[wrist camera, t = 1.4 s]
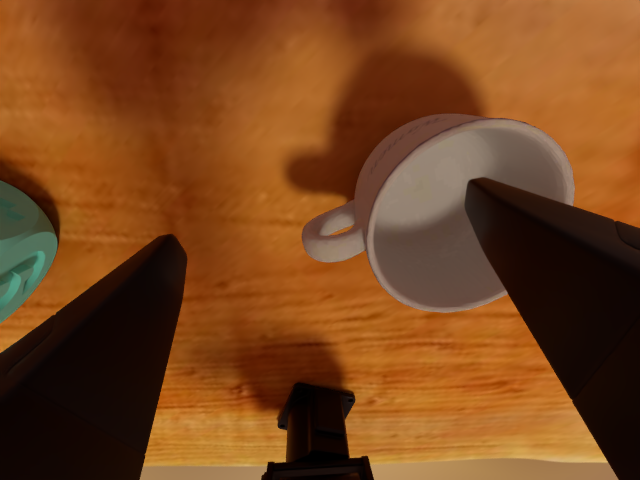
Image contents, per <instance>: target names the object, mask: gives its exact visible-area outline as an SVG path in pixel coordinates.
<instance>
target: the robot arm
mask: <svg viewBox="0 0 640 480" xmlns="http://www.w3.org/2000/svg"><path fill="white" fill-rule="evenodd" d="M464 207H465V211H466V214H467V216H468V218H469V221H470V223H471V225H472V228H473V230H474V232H475V235H476V237H477V239H478V241H479V244H480V246H481V248H482V250H483V252H484V254H485V256H486V258H487V259H488V261H489V263H490V264H491V266H492V268H493V269H494V271H495V273H496V274H497V276H498V278H499V279H500V281H501V283H502V284H503V286H504V288H505V289H506V291H507V293H508V295H509V296H510V298H511V300H512V301H513V303H514V305H515V306H516V308H517V310H518V311H519V313H520V315H521V316H522V318H523V320H524V321H525V323H526V325H527V326H528V328H529V330H530V331H531V333H532V335H533V336H534V338H535V340H536V341H537V343H538V345H539V346H540V348H541V350H542V352H543V353H544V355H545V357H546V358H547V360H548V362H549V363H550V365H551V367H552V368H553V370H554V372H555V373H556V375H557V377H558V378H559V380H560V382H561V383H562V385H563V387H564V388H565V390H566V392H567V393H568V395H569V397H570V398H571V399H572V400H573V401H572V402H573V404H574V406H575V407H576V409H577V411H578V412H579V414H580V416H581V417H582V419H583V421H584V422H585V424H586V426H587V427H588V429H589V431H590V432H591V434H592V436H593V437H594V439H595V441H596V442H597V444H598V446H599V448H600V449H601V451H602V453H603V454H604V456H605V458H606V459H607V461H608V463H609V464H610V466H611V468H612V469H613V471H614V472H615V474H616V476H617V477H618V479H619V480H640V228H637V227H634V226H631V225H628V224H625V223H622V222H619V221H615V222H614V220H613V219H610V218H607V217H604V216H601V215H598V214H595V213H592V212H589V211H586V210H583V209H580V208H577V207H574V206H571V205H568V204H565V203H562V202H558V201H555V200H552V199H549V198H546V197H543V196H540V195H537V194H534V193H531V192H528V191H525V190H522V189H519V188H516V187H513V186H510V185H507V184H504V183H501V182H498V181H495V180H492V179H489V178H486V177H480V178H474V179H470V180H469V181H468V183H467V188H466V195H465V202H464ZM186 267H187V255H186V252H185V251H184V249H183V247H182V246H181V244H180V243H179V241H178V239H177V238H176V237H175V236H174V235H173V234H167V235H162V236H159V237H157V238H156V239H154V240H153V241H152V242H150V243H149V244H148V245H146V246H145V247H144V248H142V249H141V250H140V251H138V252H137V253H136V254H134V255H133V256H132V257H130V258H129V259H128V260H126V261H125V262H124V263H122V264H121V265H120V266H118V267H117V268H116V269H114V270H113V271H112V272H110V273H109V274H108V275H106V276H105V277H104V278H102V279H101V280H100V281H98V282H97V283H96V284H94V285H93V286H92V287H90V288H89V289H87V290H86V291H85V292H83V293H82V294H81V295H79V296H78V297H77V298H75V299H74V300H73V301H71V302H70V303H69V304H67V305H66V306H65V307H63V308H62V309H61V310H59V311H58V312H57V313H56V315H53V316H51V317H50V318H49V319H47V320H46V321H45V322H43V323H42V324H41V325H39V326H38V327H36V328H35V329H34V330H32V331H31V332H30V333H28V334H27V335H25V336H24V337H23V338H21V339H20V340H19V341H17V342H16V343H14V344H13V345H11V346H10V347H9V348H7V349H6V350H4V351H3V352H1V353H0V480H139V479H140V475H141V471H142V467H143V463H144V459H145V455H144V454H145V453H146V450H147V446H148V442H149V437H150V433H151V429H152V425H153V421H154V417H155V413H156V408H157V404H158V400H159V396H160V392H161V388H162V384H163V379H164V375H165V371H166V367H167V363H168V359H169V355H170V350H171V346H172V342H173V338H174V334H175V330H176V326H177V321H178V317H179V313H180V309H181V304H182V299H183V292H184V284H185V275H186ZM298 388H299V389H298ZM354 403H355V396H354V395H353V394H350V393H345V392H340V391H335V390H331V389H326V388H321V387H316V386H311V385H306V384H301V383H297V384H295V385H294V386H293V388H292V391H291V393H290V395H289V398H288V400H287V402H286V404H285V407H284V409H283V411H282V413H281V416H280V418H279V420H278V428H280V429H284V430H287V450H286V462H283V463H274V462H268V465H267V472H265V473H264V475H262V478H261V480H374V478H373V474H372V471H371V467H370V463H369V459H368V456H362V457H361V458H350V457H349V449H348V441H347V434H346V426H345V418H346V417H347V415H348V413H349V411H350V410H351V408H352V406H353V404H354Z"/></svg>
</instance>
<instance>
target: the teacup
mask: <svg viewBox="0 0 640 480" xmlns="http://www.w3.org/2000/svg"><path fill="white" fill-rule="evenodd" d="M480 177H486V178H489V179H492V180H495V181H498V182H501V183H504V184H507V185H510V186H513V187H516V188H519V189H522V190H525V191H528V192H531V193H534V194H537V195H540V196H543V197H546V198H549V199H552V200H555V201H558V202H562V203H565V204H568V205H571V206H573V202H574V190H575V186H574V179H573V171H572V168H571V165H570V163H569V160H568V159H567V157H566V155H565V152H564V151H563V150H562V149H561V147H560V146H559V145H558V144H557V143H556V142H555V141H554V140H553V138H551V137H550V136H549V135H548V134H546V133H545V132H543V131H542V130H540V129H538V128H536V127H535V126H532V125H529V124H527V123H526V122H521V121H517V120H512V119H505V118H486V117H481V116H474V115H466V114H436V115H430V116H426V117H422V118H419V119H416V120H413V121H411V122H409V123H407V124H405V125H403V126H401V127H399V128H398V129H396V130H395V131H393V132H392V133H390V134H389V135H388V136H387V137H385V138H384V139H383V140H382V141H381V142H380V143H379V144H378V145H377V146H376V148H375V149H374V150H373V151H372V153H371V154H370V155H369V157H368V158H367V160H366V161H365V163H364V165H363V167H362V169H361V172H360V174H359V177H358V181H357V184H356V189H355V198H354V200H351V201H349V202H347V203H346V204H345V205H343V206H341V207H338V208H335V209H333V210H330V211H328V212H326V213H324V214H321V215H319V216H317V217H315V218H314V219H312V220H311V221H309V222H308V223H307V224H306V225H305V226H304V228H303V232H302V241H303V245H304V248H305V250H306V252H307V253H308V255H310V256H311V257H312V258H313V259H316V260H318V261H322V262H338V261H344V260H347V259H349V258H351V257H353V256H355V255H357V254H359V253H361V252H362V251H366V252H367V256H368V260H369V263H370V265H371V268H372V271H373V273H374V275H375V277H376V278H377V280H378V282H379V283H380V284H381V286H382V287H383V288H384V289H385V290H386V291H387V292H388V293H389V294H390V295H391V296H393V297H394V298H395V299H397V300H398V301H400V302H402V303H404V304H406V305H408V306H410V307H413V308H416V309H420V310H425V311H433V312H457V311H463V310H468V309H473V308H476V307H479V306H482V305H485V304H487V303H490V302H492V301H494V300H496V299H499V298H501V297H503V296H504V295H506V294H508V293H507V291H506V289H505V288H504V286H503V284H502V283H501V281H500V279H499V278H498V276H497V274H496V273H495V271H494V269H493V268H492V266H491V264H490V263H489V261H488V259H487V258H486V256H485V254H484V252H483V250H482V248H481V246H480V244H479V241H478V239H477V237H476V235H475V232H474V230H473V228H472V225H471V223H470V221H469V218H468V216H467V214H466V211H465V207H464V202H465V195H466V188H467V183H468V181H469V180H470V179H474V178H480ZM351 225H354V226H353V228H351V229H350V230H348V231H347V232H344V233H341V234H338V235H331V236H328V235H330V234H332V233H334V232H336V231H338V230H341V229H343V228H346V227H349V226H351Z"/></svg>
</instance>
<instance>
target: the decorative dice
mask: <svg viewBox="0 0 640 480" xmlns="http://www.w3.org/2000/svg"><path fill="white" fill-rule="evenodd" d="M57 246H58V242H57V237H56V234H55V231H54V228H53V226H52V224H51V222H50V221H49V219H48V217H47V216H46V214H45V213H44V212H43V211H42V209H41V208H40V207H39V206H38V205H37V204H36V203H35V202H34V201H33V200H32V199H31V198H29V197H28V196H27V195H26V194H25V193H23V192H22V191H20V190H19V189H17V188H15V187H13V186H11V185H9V184H7V183H5V182H3V181H1V180H0V323H2V322H3V321H4V320H5V319H7V318H8V317H9V316H10V315H11V314H12V313H14V312H15V311H16V310H17V309H18V308H19V307H20V306H21V305H22V304H23V303H24V302H25V301H26V300H27V298H28V297H29V296H30V295H31V294H32V293H33V291H34V290H35V289H36V288H37V286H38V285H39V284H40V282H41V281H42V279H43V278H44V276H45V275H46V273H47V272H48V270H49V268H50V266H51V264H52V262H53V260H54V257H55V255H56V251H57Z"/></svg>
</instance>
